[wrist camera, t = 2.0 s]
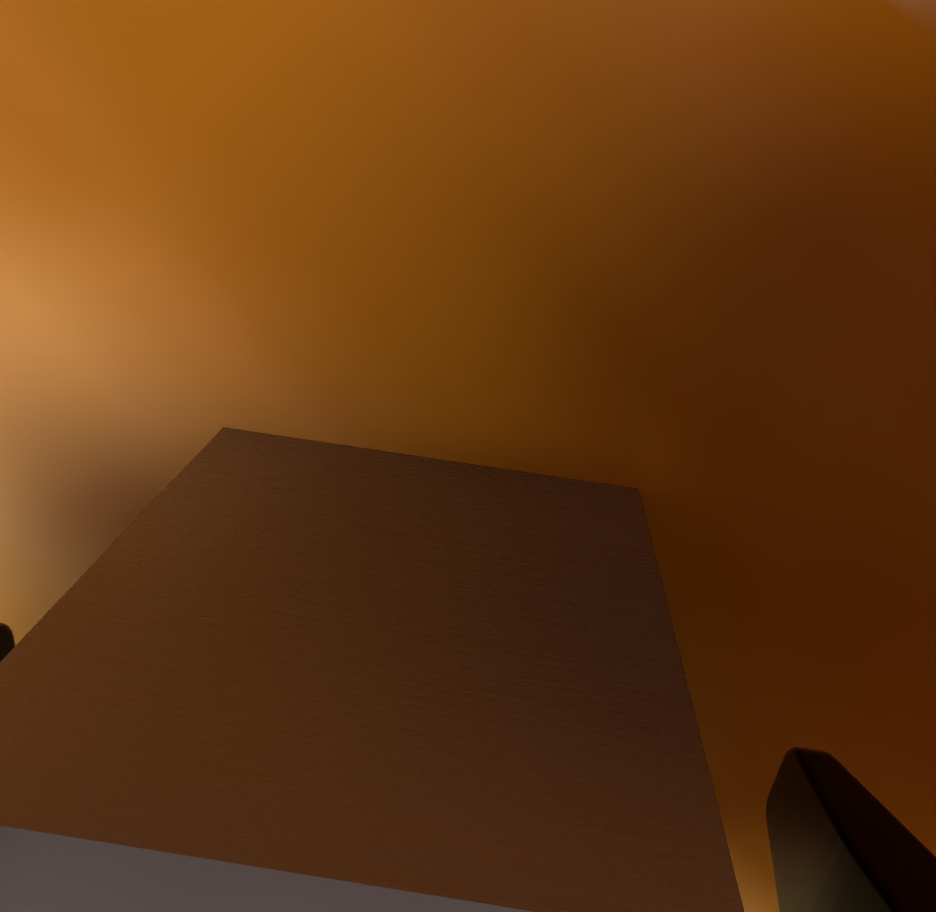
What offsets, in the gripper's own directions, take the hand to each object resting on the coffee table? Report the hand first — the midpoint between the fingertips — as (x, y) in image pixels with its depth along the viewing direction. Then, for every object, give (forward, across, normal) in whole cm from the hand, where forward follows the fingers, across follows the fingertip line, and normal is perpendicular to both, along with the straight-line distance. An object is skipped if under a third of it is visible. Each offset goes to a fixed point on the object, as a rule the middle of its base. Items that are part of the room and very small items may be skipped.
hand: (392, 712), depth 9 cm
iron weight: (+2, 0, 0) cm, 2 cm away
